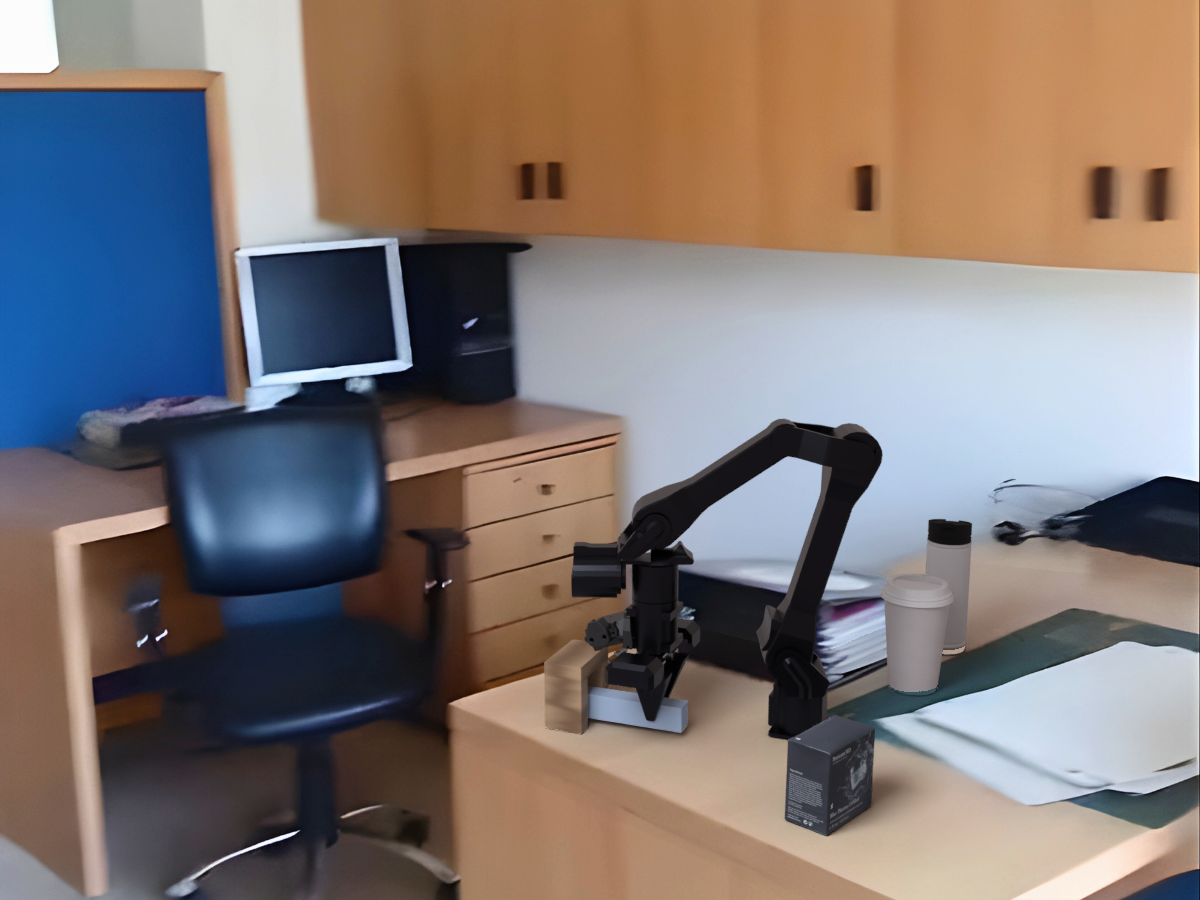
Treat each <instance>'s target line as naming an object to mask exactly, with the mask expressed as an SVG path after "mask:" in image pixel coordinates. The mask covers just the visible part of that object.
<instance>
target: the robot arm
mask: <svg viewBox="0 0 1200 900" xmlns="http://www.w3.org/2000/svg"><path fill="white" fill-rule="evenodd" d="M883 455H884V454H883V450H882V447H881V445H880V442H879V441H878V440H877V438H875V437H874V436H873V435H872V434H871V433H870V432H869V431H868V430H867V429H866V428H865V427H863V426H862V425H860V424H857V423H851V422H849V423H843V424H840V425H838V426H836V427H834V426H828V425H823V424H816V423H807V422H800V421H799V422H798V421H792V420H790V419H787V418H777V419H776V420H773V421H772V422H770V423H769V425H767V427H766V428H764V429H762V430H761V431H759V432H758V433H757V434H755V435H754V436H752V437H750V438H749V439H747V440H746V441H745V442H743V443H741V444H740V445H738V446H736V447H735V448H733V449H731V450H730V451H729V452H727V453H725V454H724V455H723V456H722V457H720V458H718V459H717V460H715V461H713V462H712V463H711V464H709V465H707V466H706V467H705V468H703V469H701V470H700V471H699V472H696V473H695V474H694V475H692V476H691V477H688V478H686V479H683V480H681V481H678V482H675V483H671V484H668V485H664V486H662V487H659V488H658V489H655V490H652V491H651V492H648V493H646V494H644V495H642V496H641V497H640V498H638V500H636V501H635V503H634V505H633V508H632V512H631V520H630V522H629V523H628V524H627V525H626V527H625V528H624V529H623V531H622V532H621V533H619V536H618V537H617V540H616V541H617V542H615V543H609V542H608V543H601V542H600V543H592V542H591V543H590V542H587V541H575V542H574V543H573V546H572V547H573V551H572V552H573V553H572V554H573V557H572V558H573V559H572V570H571V574H570V575H571V576H570V578H571V580H570V581H571V582H570V584H571V598H573V599H578V598H579V599H581V598H582V599H588V598H589V599H616V598H618V595H622V591H624V590H627V566H628V565H630V566H631V604H629V605H628V606H627V607H626V608H625V609H624V610H623V611H619V612H615V613H611V614H607V615H604V616H601V617H597V618H596V619H595V618H593V619H592V620H590V621H589V622H588V623H587V626H586V628H585V629H584V631H585V637H584V641H586V642H587V643H589V645H590V646H592V647H593V648H594V651H599V650H602V649H603V648H605V647H608V648H609V647H613V646H617V645H621V644H622V649H628V650H631V651H632V650H635V651H636V653H634V652H633V653H632V652H627V653H626V652H622V653H621V654H620V655H619V656H617V657H616V658H615V659H614V660H613V661H612V662H611V663H610V664H609V665H607V666H606V667H605V682H606V683H607V684H608V686H609V685H610V686H611V685H612V686H617V687H624V688H629V689H630V688H631V689H635V690H636V693H638V696H639V700H640V703H641V706H642V709H643V712H644V715H645V718H646V720H647V721H652V722H653V721H655V719H656V717H657V714H658V712H659V709H660V706H661V703H662V701H663V698H664V697H666V698H671V694H672V692H673V690H674V688H675V685H676V684H677V681H678V680H679V677H680V675H681V673H682V671H683V669H684V667H685V664H686V662H687V661H688V658H689V656H690V655H689V654H688V653H685V652H679V645H680V644H682V643H683V642H684V640H687V645H688V647H689V648H695V647H697V645H698V644H699V643H700V642H701V627H700V626H699V625H698V624H697V622H696V620H693V619H687V618H679V614H680V613H681V612H683V610H684V602H683V601H679V566H692V565H693V564H694V563H695V559H694V554H693V552H692V551H691V550H689V549H688V548H687V547H685V545H684V543H683V542H682V541H681V540H678V539H679V538H680V537H681V536H682V535H683V534H684V533H685V532H686V531H687V530H688V529H690V528H691V527H692V526H693V524H695V522H696V521H697V520H698V518H699V517H700V516H701V515H702V514H703V513H704V512H705V511H706V510H708V508H709V507H711V506H713V505H714V504H716V503H717V502H719V501H721V500H722V499H724V498H725V497H726V496H728V495H729V494H731V493H733V492H734V491H736V490H738V489H739V488H741V487H742V486H744V485H745V484H747V483H749V482H750V481H752V480H753V479H754V478H756V477H757V476H759V475H760V474H762V473H764V472H765V471H767V470H768V469H769V468H771V467H773V466H775V465H776V464H778V463H779V462H781V461H782V460H784V459H785V458H787V457H790V458H794V459H799V460H803V461H806V462H810V463H813V464H816V465H820V466H821V481H820V493H819V496H818V500H817V502H816V506H815V508H814V510H813V511H814V512H813V514H812V518H811V520H810V523H809V525H808V528H807V532H806V535H805V538H804V541H803V544H802V547H801V550H800V552H799V555H798V559H797V562H796V565H795V568H794V570H793V574H792V577H791V579H790V582H789V586H788V587H787V591H786V595H785V596H784V598H783V600H782V601H781V602H780V604H779V605H778V606H777V607H774V606H772V605H769V604H766V605H765V609H764V615H763V621H762V623H761V625H760V626H759V628H758V629H757V630H756V635H757V638H758V642H759V647H760V652H761V656H762V659H763V662H764V664H765V669H766V670H767V671H768V674H770V676H771V677H773V678H774V679H776V680H775V682H774V683H773V685H772V691H770V693H769V695H768V705H767V706H768V707H767V708H768V709H767V711H768V713H767V725H768V726H769V727H770V728H769V730H768V731H767V732H768V734H767V736H769V737H773V738H779V739H787V740H788V739H790V738H792V737H795V736H797V735H799V734H801V733H803V732H805V731H806V730H808V729H810V728H812V727H814V726H816V725H817V724H820V723H821V722H823V721H825V720H827V719H828V688H829V687H830V680H829V678H828V676H827V673H826V670H825V668H824V666H823V664H822V663H823V662H822V661H821V658H820V657H819V656H818V654H817V653H815V647H816V646H815V645H816V636H817V635H816V633H817V617H818V610H819V608H820V604H821V602H822V599H823V597H824V593H825V590H826V587H827V584H828V581H829V579H830V575H831V573H832V569H833V567H834V564H835V561H836V558H837V555H838V553H839V550H840V546H841V544H842V540H843V538H844V535H845V533H846V529H847V526H848V523H849V521H850V517H851V514H852V512H853V511H852V510H853V508H854V507H855V505H856V504H857V503H858V501H859V500H860V498H861V497H862V496H863V495H864V493H866V491H867V490H868V488H869V487H870V486H871V483H872V481H873V480H874V477H875V476H876V474H877V472H878V470H879V468H880V467H881V464H882V461H883ZM677 540H678V541H677ZM675 541H677V542H676V544H675V545H673V544H674V542H675ZM671 545H673V546H671ZM670 546H671V547H670ZM649 551H650V552H649Z"/></svg>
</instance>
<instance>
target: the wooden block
mask: <svg viewBox="0 0 1200 900" xmlns="http://www.w3.org/2000/svg"><path fill="white" fill-rule="evenodd" d="M608 658H609V647H605V648H603V649H602V650H599V651H594V648H593V647H592V646H590V645H589V643H587V642H586V641H585V640H582V639H581V640H580V639H571V640H570V641H569V642H567V643H566V644H565V645H564V646H563V647H561V648H560V649H559V650H558V651H556V652H555V653H554V654H552V655H551V656H550V657H549V658H547V660H545V661H544V662H543V665H544V666H543V670H544V673H543V674H544V728H545V727H547V728H552V729H551V730H553V729H558V730H557V731H559V730H562V731H561V732H565V731H568V732H567V733H571V732H574V733H573V734H577V733H580V734H579V735H583V733H584V732H585V731H587V730H588V728H589V725H588V723H589V718H588V687H587V686H593V687H600V688H606V689H609V684H607V683H606V682H605V667H606V666H607V665H608ZM547 728H546V729H547ZM563 730H564V731H563Z"/></svg>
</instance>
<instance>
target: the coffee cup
mask: <svg viewBox="0 0 1200 900" xmlns="http://www.w3.org/2000/svg"><path fill="white" fill-rule="evenodd" d="M880 597H881V598H882V599H883V604H884V622H885V623H884V624H885V640H886V641H885V642H886V645H885V646H886V661H887V662H886V663H887V664H886V665H887V666H886V667H887V685H888V684H889V685H890V687H892V688H894V689H895V690H899V691H904V692H919V691H920V692H921V691H928V690H931V689H934V688H936V687H937V685H939V679H940V672H941V665H942V659H943V655H942V652H943V645H944V638H945V631H946V624H947V617H948V611H949V605H950V604H951V603H952V602H953V601H954V598H953V594H952V592H951V590H950V589H949V586H948V583H947V582H946V581H945V580H943V579H941V578H939V577H935V576H931V575H926V573H899V574H895V575H892V576H889V577H888V578H887V579H886V583H884V585H883V587H882V589H881V591H880ZM937 688H938V687H937Z"/></svg>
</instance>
